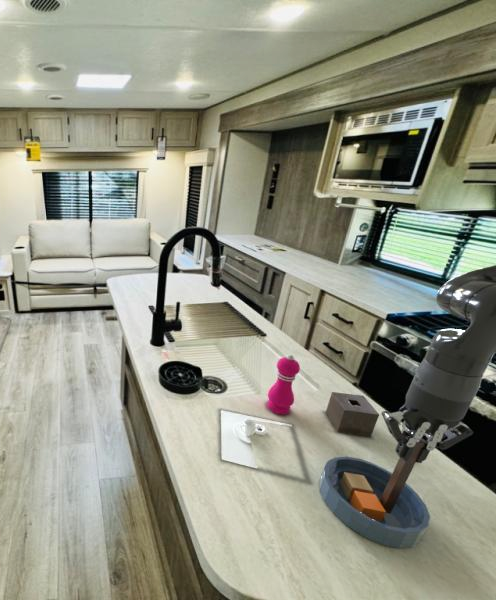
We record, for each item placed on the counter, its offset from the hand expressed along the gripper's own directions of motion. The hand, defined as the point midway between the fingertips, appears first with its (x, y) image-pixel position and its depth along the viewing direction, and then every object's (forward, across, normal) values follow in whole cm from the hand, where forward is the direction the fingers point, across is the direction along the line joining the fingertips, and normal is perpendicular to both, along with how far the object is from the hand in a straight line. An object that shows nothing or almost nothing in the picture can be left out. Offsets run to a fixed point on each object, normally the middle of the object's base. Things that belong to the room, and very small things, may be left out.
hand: (408, 458), depth 62 cm
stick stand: (+17, +6, +30) cm, 35 cm away
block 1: (+16, -4, +4) cm, 17 cm away
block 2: (+16, -4, -1) cm, 17 cm away
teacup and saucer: (+17, -21, +16) cm, 32 cm away
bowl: (+17, -2, +2) cm, 17 cm away
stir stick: (+15, 0, 0) cm, 15 cm away
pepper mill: (+17, -12, +32) cm, 39 cm away
